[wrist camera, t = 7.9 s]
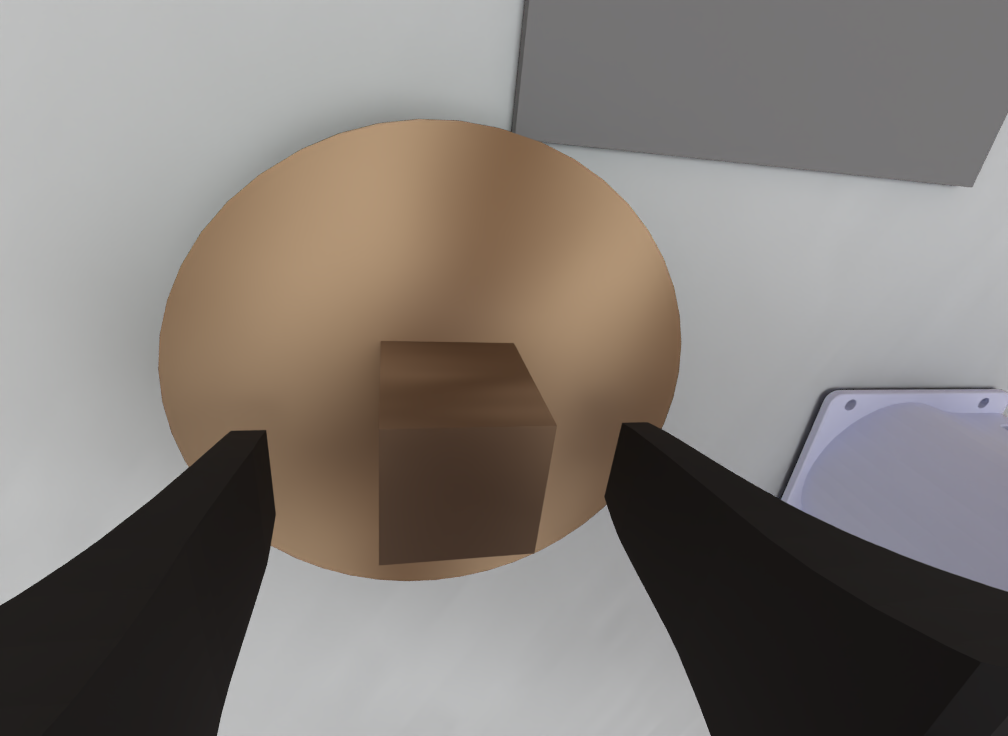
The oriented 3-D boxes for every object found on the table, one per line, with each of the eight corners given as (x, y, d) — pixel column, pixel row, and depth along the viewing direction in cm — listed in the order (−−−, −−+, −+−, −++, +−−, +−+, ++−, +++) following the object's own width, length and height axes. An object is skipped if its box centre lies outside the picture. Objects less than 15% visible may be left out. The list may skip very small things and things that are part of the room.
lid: (721, 149, 12) (878, 173, 8) (616, 544, 17) (680, 669, 13) (116, 81, 9) (-72, 70, 5) (212, 575, 14) (151, 743, 11)
